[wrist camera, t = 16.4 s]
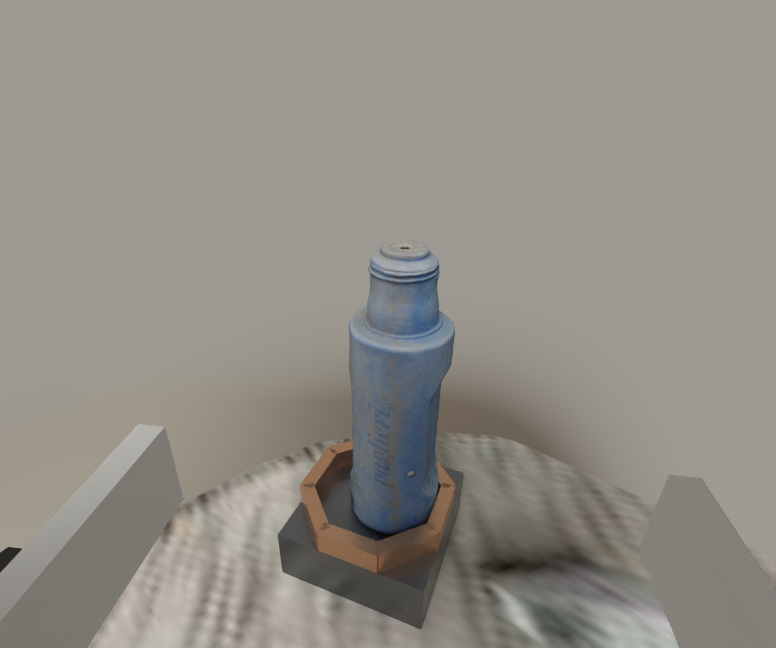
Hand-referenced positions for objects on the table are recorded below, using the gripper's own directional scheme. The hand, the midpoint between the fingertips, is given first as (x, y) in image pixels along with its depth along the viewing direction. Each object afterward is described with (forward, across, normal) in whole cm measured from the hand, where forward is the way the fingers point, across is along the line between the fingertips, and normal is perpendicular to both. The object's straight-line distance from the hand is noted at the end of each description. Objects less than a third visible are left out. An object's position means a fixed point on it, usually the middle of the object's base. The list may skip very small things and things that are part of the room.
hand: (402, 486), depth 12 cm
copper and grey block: (+28, -4, -38) cm, 47 cm away
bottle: (+28, -2, -32) cm, 43 cm away
